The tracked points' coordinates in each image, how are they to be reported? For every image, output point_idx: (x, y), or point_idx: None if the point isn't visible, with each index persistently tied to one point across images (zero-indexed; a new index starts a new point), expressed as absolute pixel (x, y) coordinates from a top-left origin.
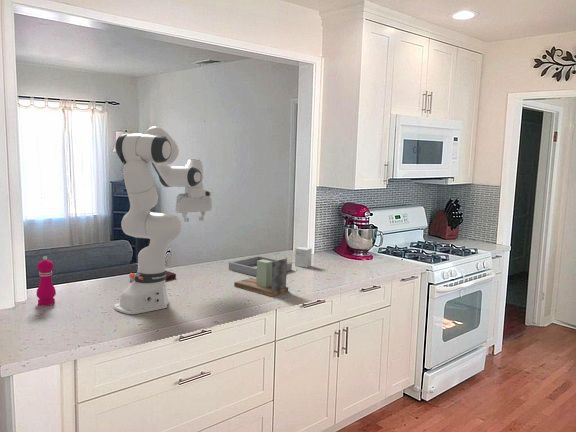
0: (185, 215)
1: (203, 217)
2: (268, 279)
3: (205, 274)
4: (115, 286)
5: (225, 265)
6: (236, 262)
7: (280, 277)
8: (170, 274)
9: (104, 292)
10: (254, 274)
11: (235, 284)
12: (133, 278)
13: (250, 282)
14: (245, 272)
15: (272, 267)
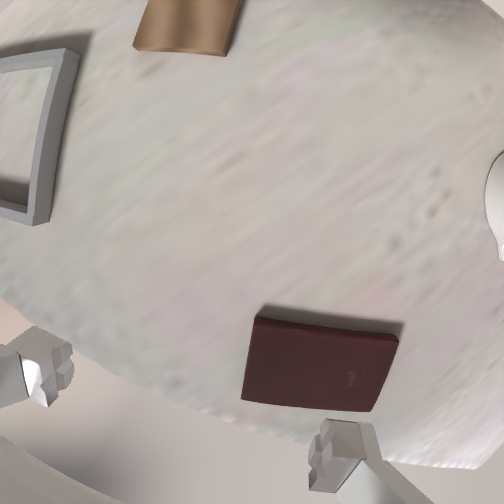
0: (418, 499)
1: (12, 340)
2: None
3: (143, 251)
4: (425, 393)
5: (25, 262)
6: (15, 209)
7: None
8: (276, 333)
9: (477, 371)
10: (68, 90)
11: (226, 48)
12: (374, 396)
13: (193, 9)
14: (59, 133)
15: None
